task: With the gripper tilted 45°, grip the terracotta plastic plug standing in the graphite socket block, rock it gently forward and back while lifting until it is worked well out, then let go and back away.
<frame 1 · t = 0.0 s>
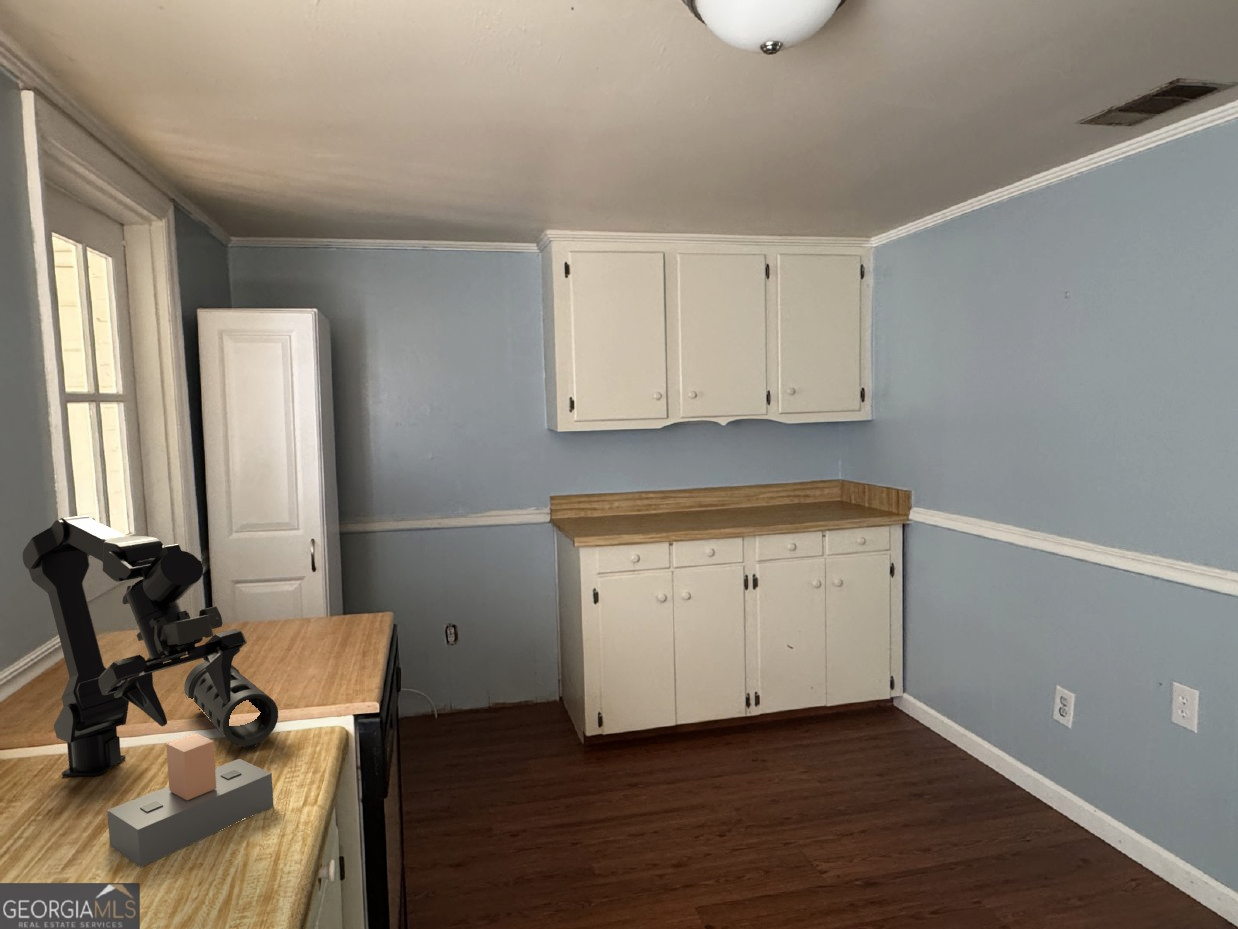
hand: (197, 713, 110), 15 cm above the counter, tool tilted 35°, fingers open, 9 cm apart
socket block: (195, 825, 108), on the counter
plug: (192, 780, 107), point 6 cm above the counter, slide at 0.0 cm
muzzle brake: (230, 729, 142), on the counter
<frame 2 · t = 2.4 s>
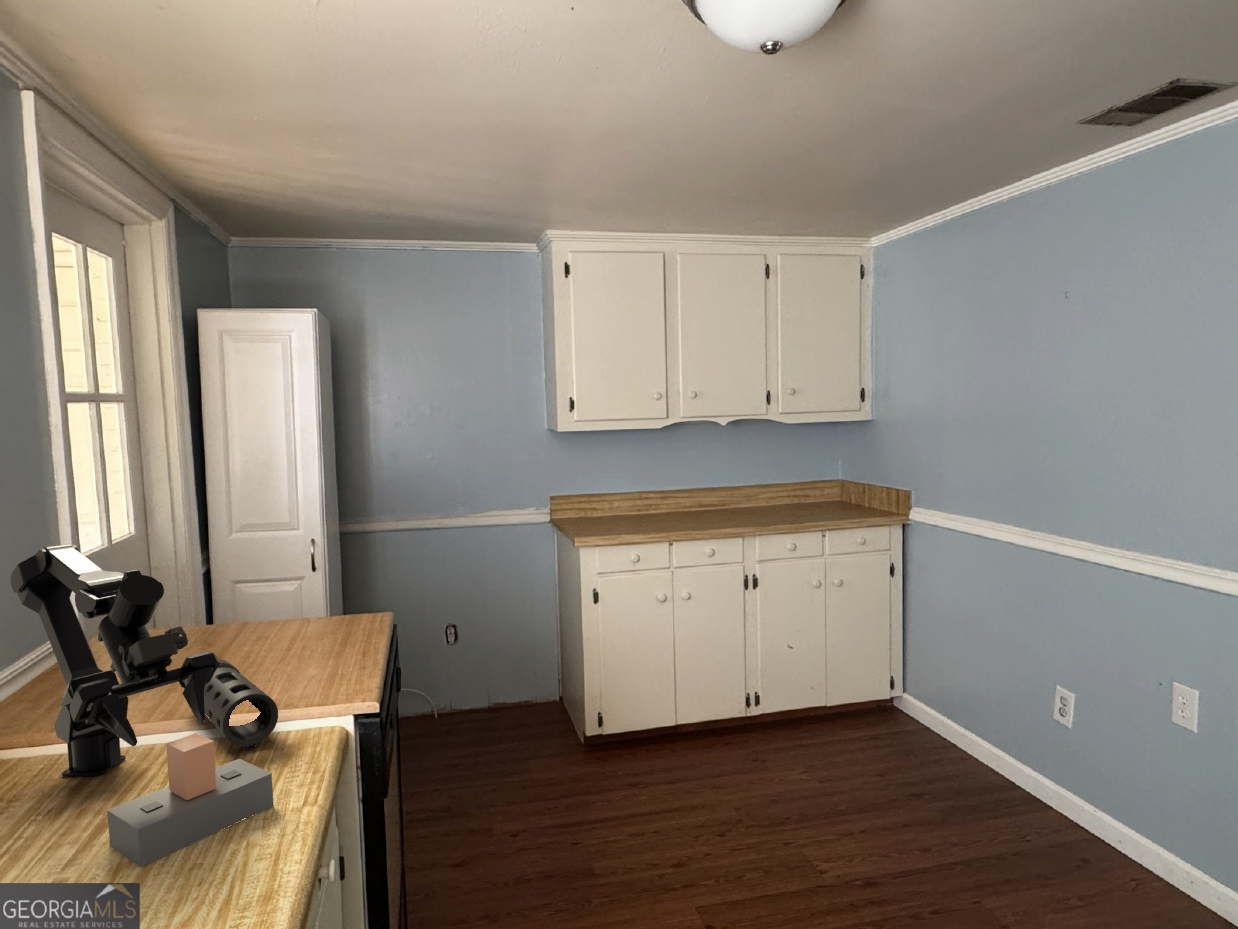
hand: (170, 732, 110), 12 cm above the counter, tool tilted 45°, fingers open, 9 cm apart
nothing on the counter moved.
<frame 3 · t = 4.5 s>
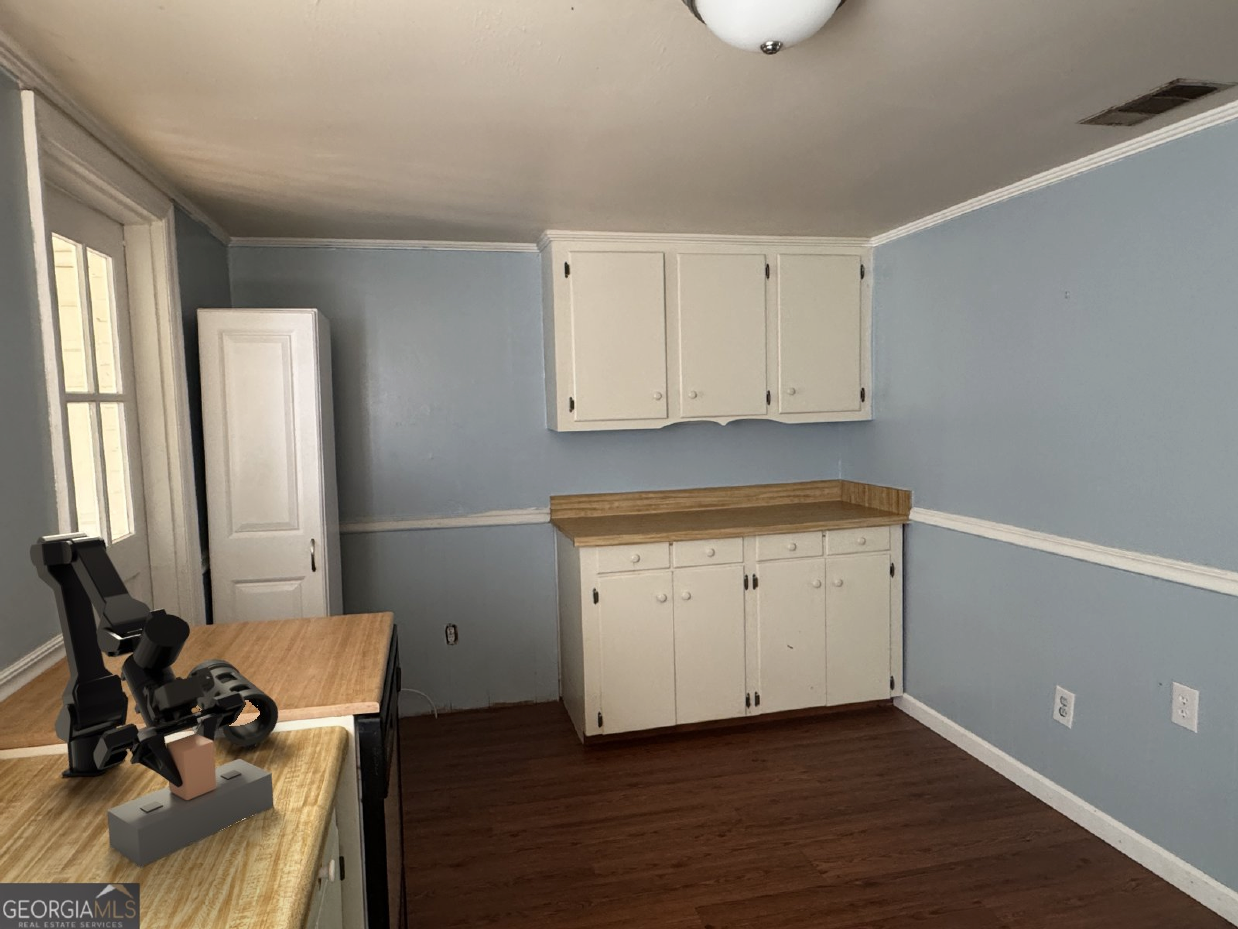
hand: (197, 779, 106), 7 cm above the counter, tool tilted 45°, fingers closed on plug, 4 cm apart
plug: (192, 780, 107), point 6 cm above the counter, slide at 0.0 cm, touching gripper
everything else where it was.
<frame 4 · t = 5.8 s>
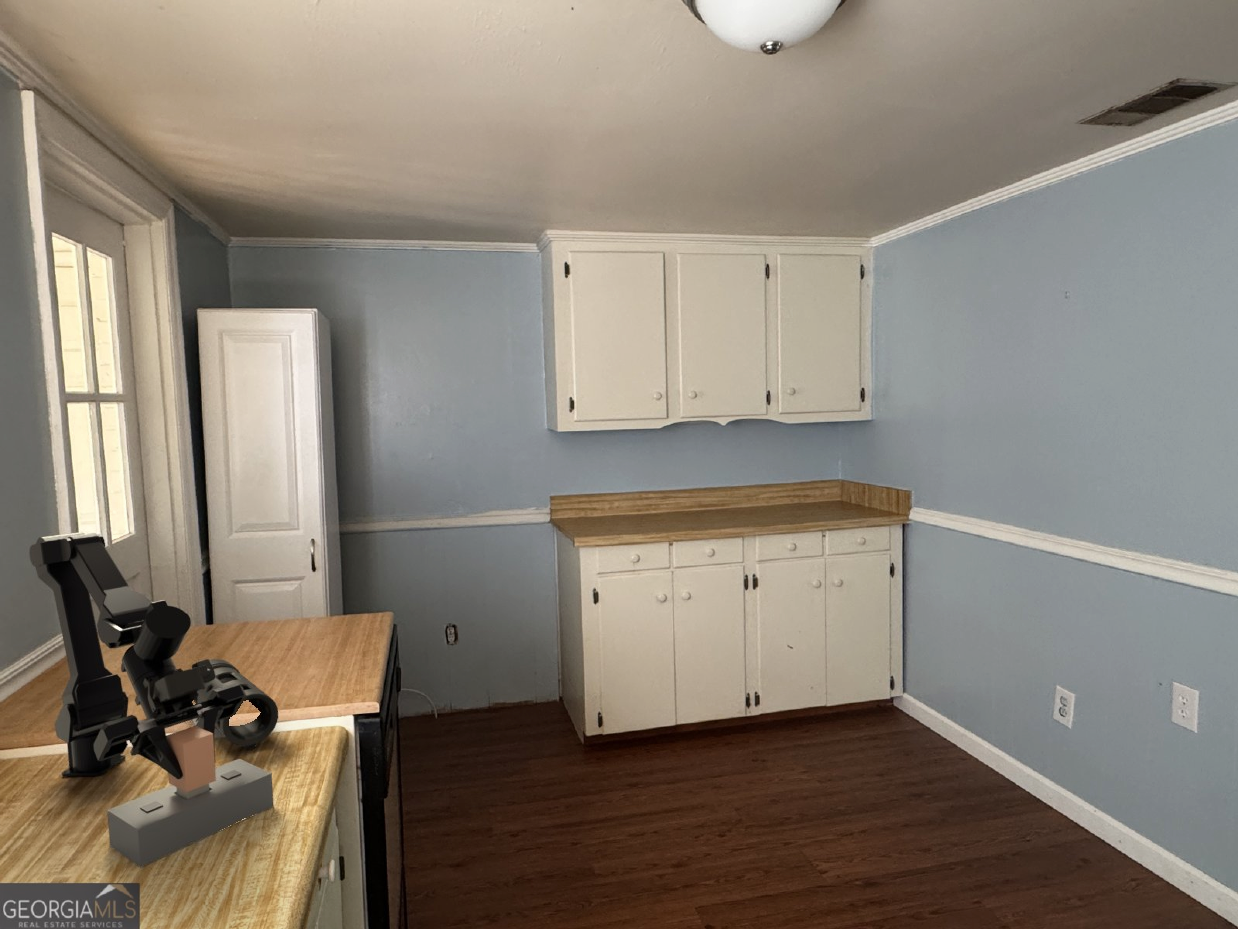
hand: (197, 771, 106), 8 cm above the counter, tool tilted 45°, fingers closed on plug, 4 cm apart
plug: (191, 773, 107), point 8 cm above the counter, slide at 1.1 cm, touching gripper
everything else where it was.
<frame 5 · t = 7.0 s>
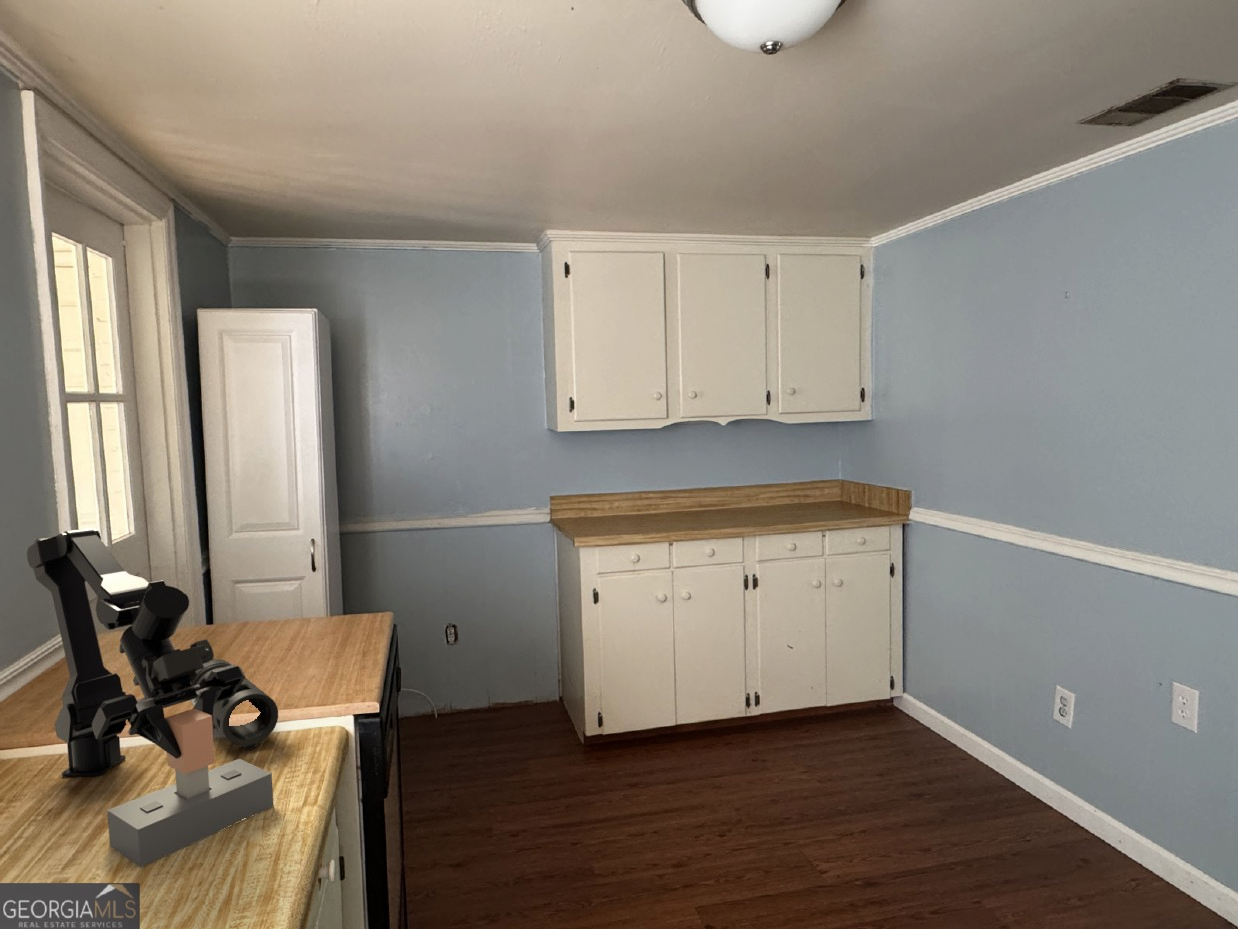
hand: (195, 750, 106), 11 cm above the counter, tool tilted 45°, fingers closed on plug, 4 cm apart
plug: (190, 755, 107), point 10 cm above the counter, slide at 3.7 cm, touching gripper
everything else where it was.
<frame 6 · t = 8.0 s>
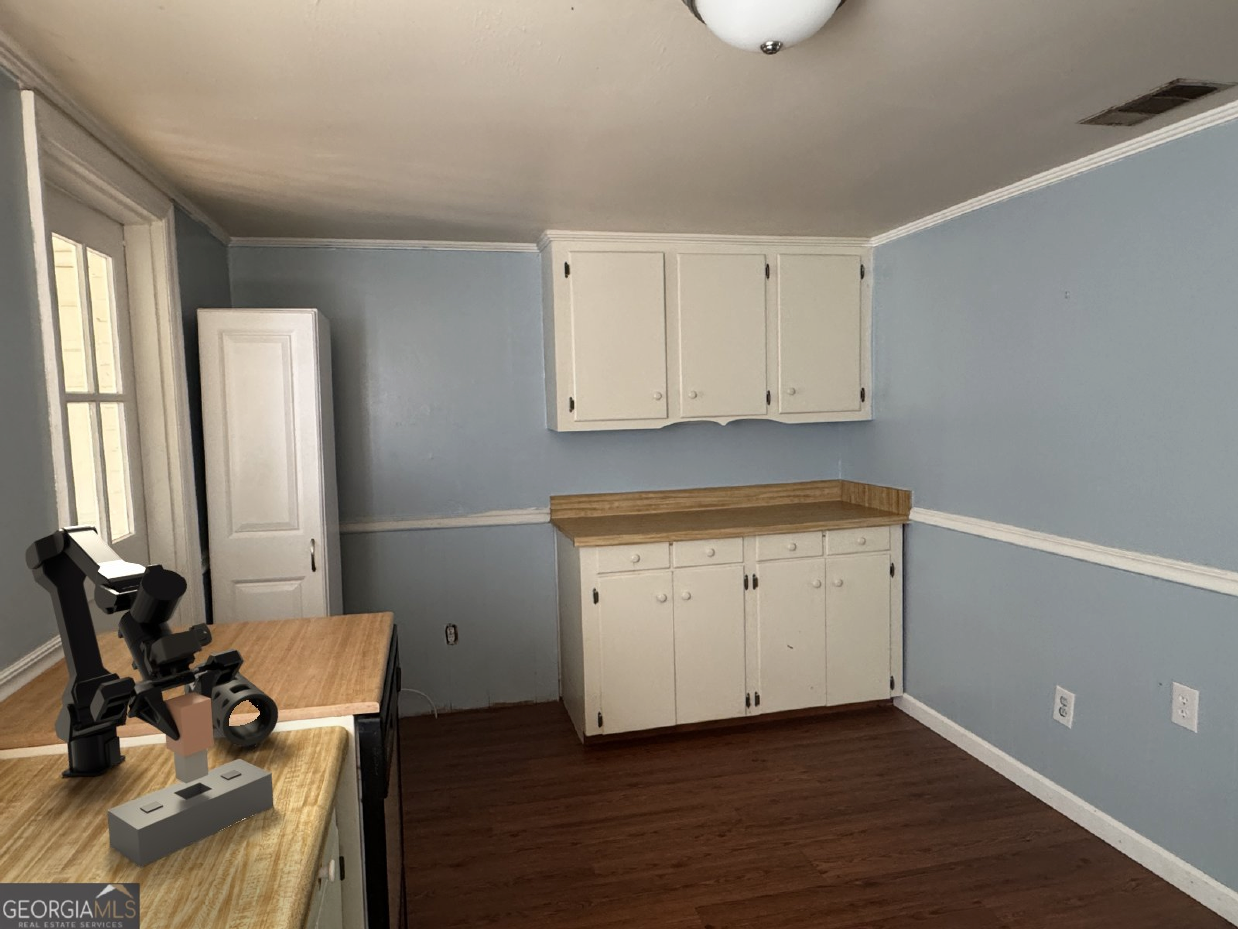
hand: (194, 733, 106), 14 cm above the counter, tool tilted 45°, fingers closed on plug, 4 cm apart
plug: (189, 738, 107), point 13 cm above the counter, slide at 6.1 cm, touching gripper
everything else where it was.
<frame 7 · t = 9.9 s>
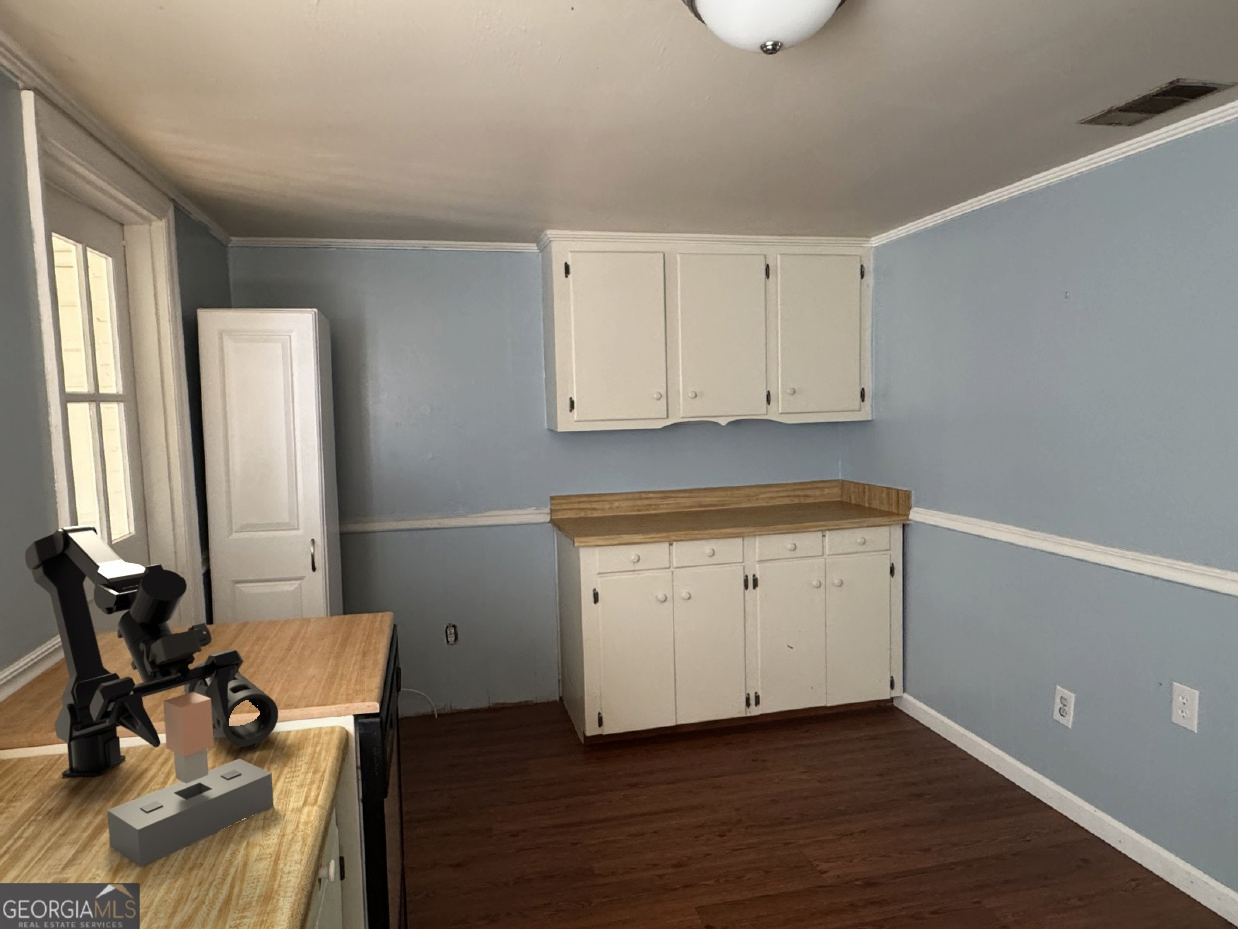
hand: (193, 733, 106), 14 cm above the counter, tool tilted 45°, fingers open, 9 cm apart
plug: (189, 738, 107), point 13 cm above the counter, slide at 6.1 cm
everything else where it was.
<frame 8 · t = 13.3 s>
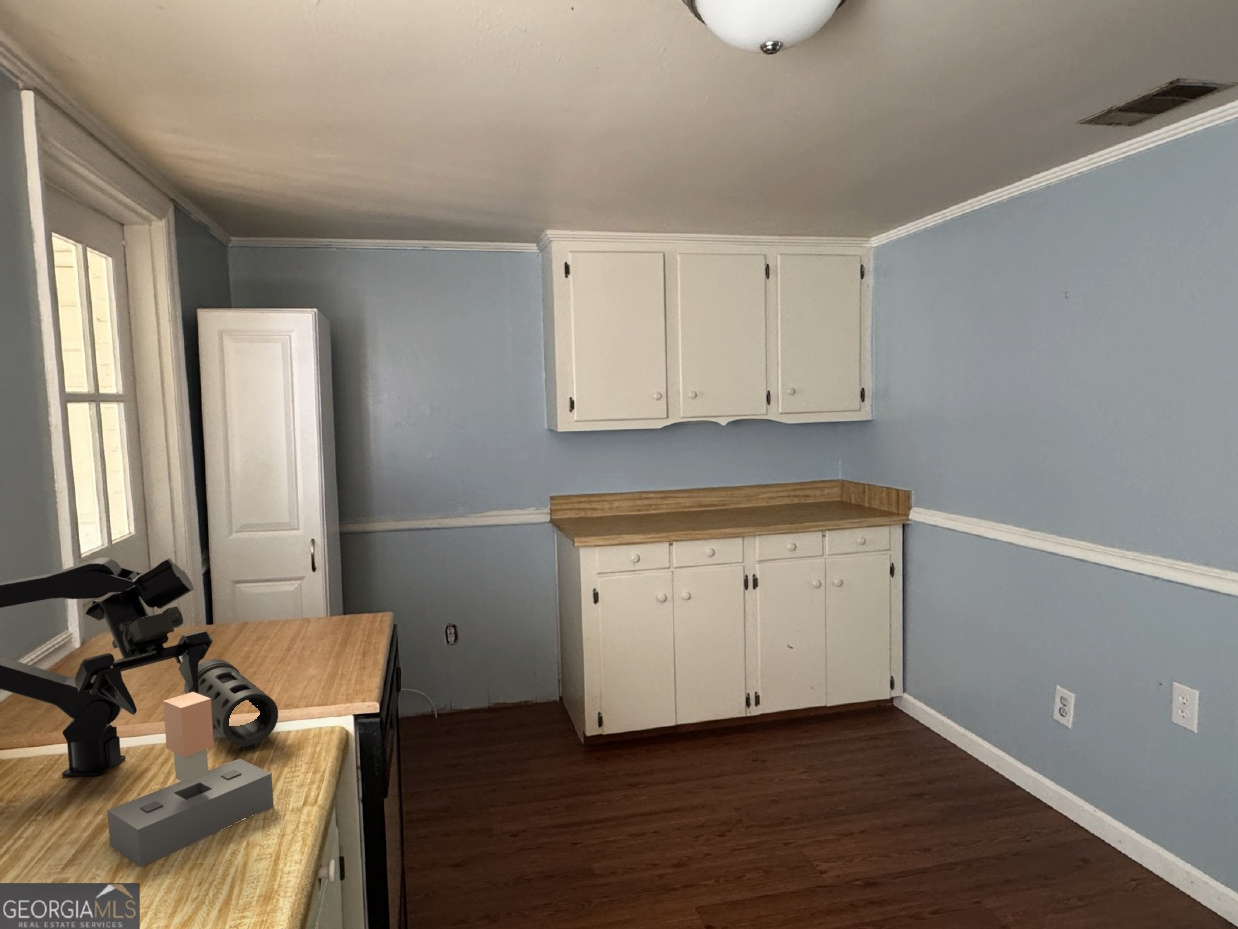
hand: (166, 703, 120), 13 cm above the counter, tool tilted 45°, fingers open, 9 cm apart
nothing on the counter moved.
at the end: plug slide at 6.1 cm; the gripper is holding nothing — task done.
